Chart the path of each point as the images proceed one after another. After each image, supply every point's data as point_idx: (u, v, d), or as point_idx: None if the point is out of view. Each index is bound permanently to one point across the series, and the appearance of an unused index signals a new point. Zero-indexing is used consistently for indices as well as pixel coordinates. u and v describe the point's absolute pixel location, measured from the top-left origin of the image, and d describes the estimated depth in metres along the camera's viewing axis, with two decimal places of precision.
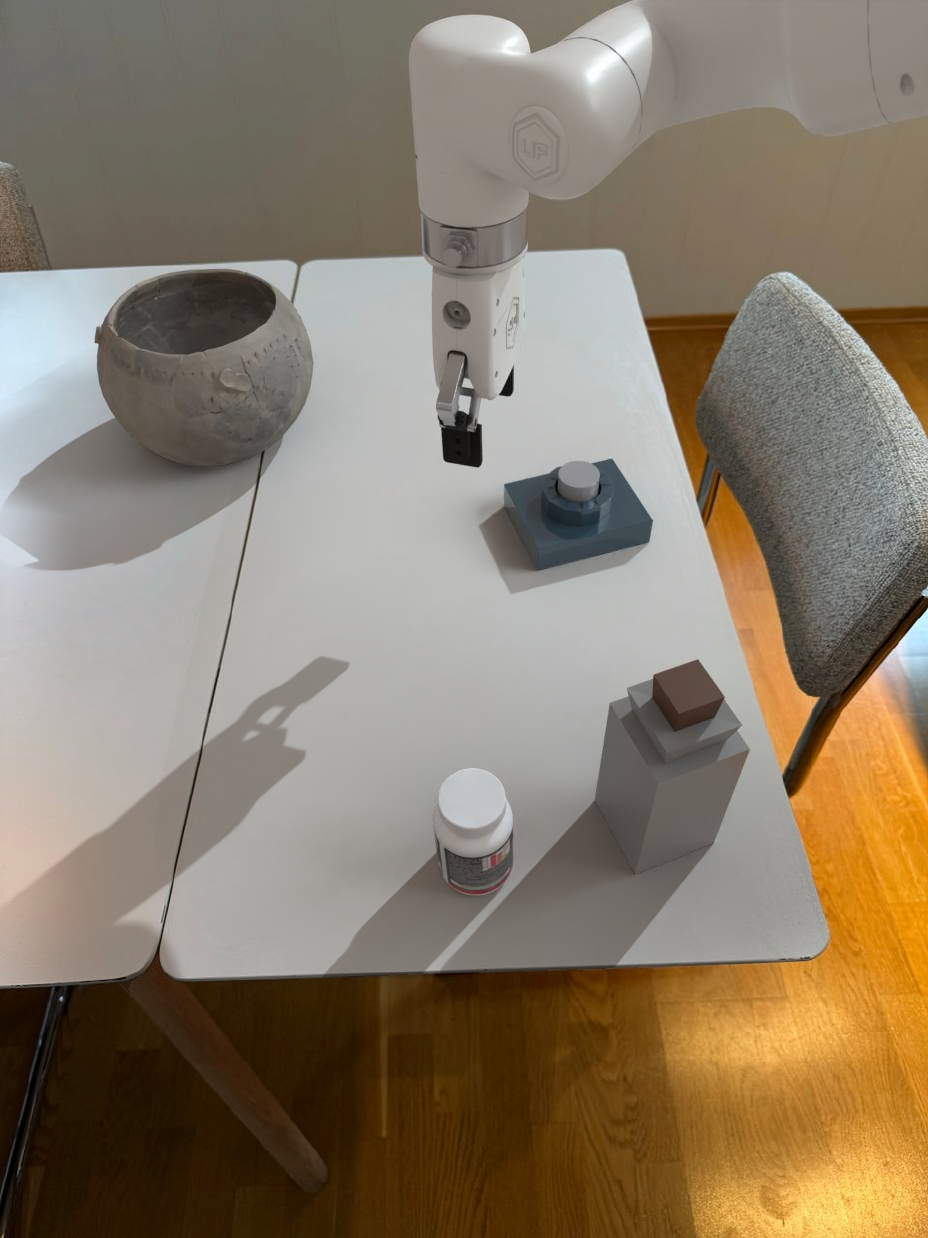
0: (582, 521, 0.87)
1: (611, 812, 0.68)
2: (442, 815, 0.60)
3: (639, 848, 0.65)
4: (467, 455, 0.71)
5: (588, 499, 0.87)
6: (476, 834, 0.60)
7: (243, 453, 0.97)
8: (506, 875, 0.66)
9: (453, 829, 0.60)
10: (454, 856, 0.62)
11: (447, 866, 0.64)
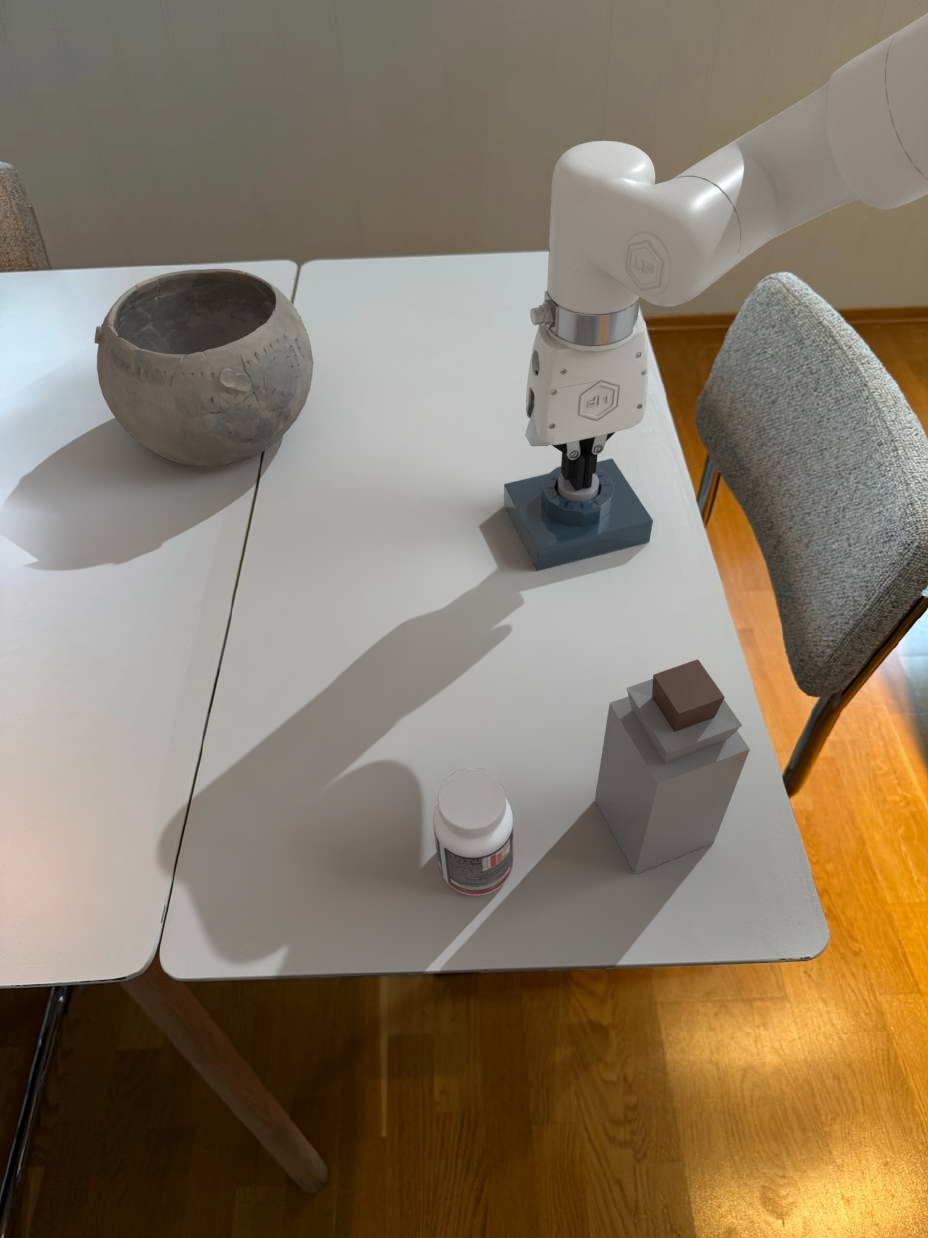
0: (582, 521, 0.87)
1: (611, 812, 0.68)
2: (442, 815, 0.60)
3: (639, 848, 0.65)
4: (566, 475, 0.86)
5: None
6: (476, 834, 0.60)
7: (243, 453, 0.97)
8: (506, 875, 0.66)
9: (453, 829, 0.60)
10: (454, 856, 0.62)
11: (447, 866, 0.64)
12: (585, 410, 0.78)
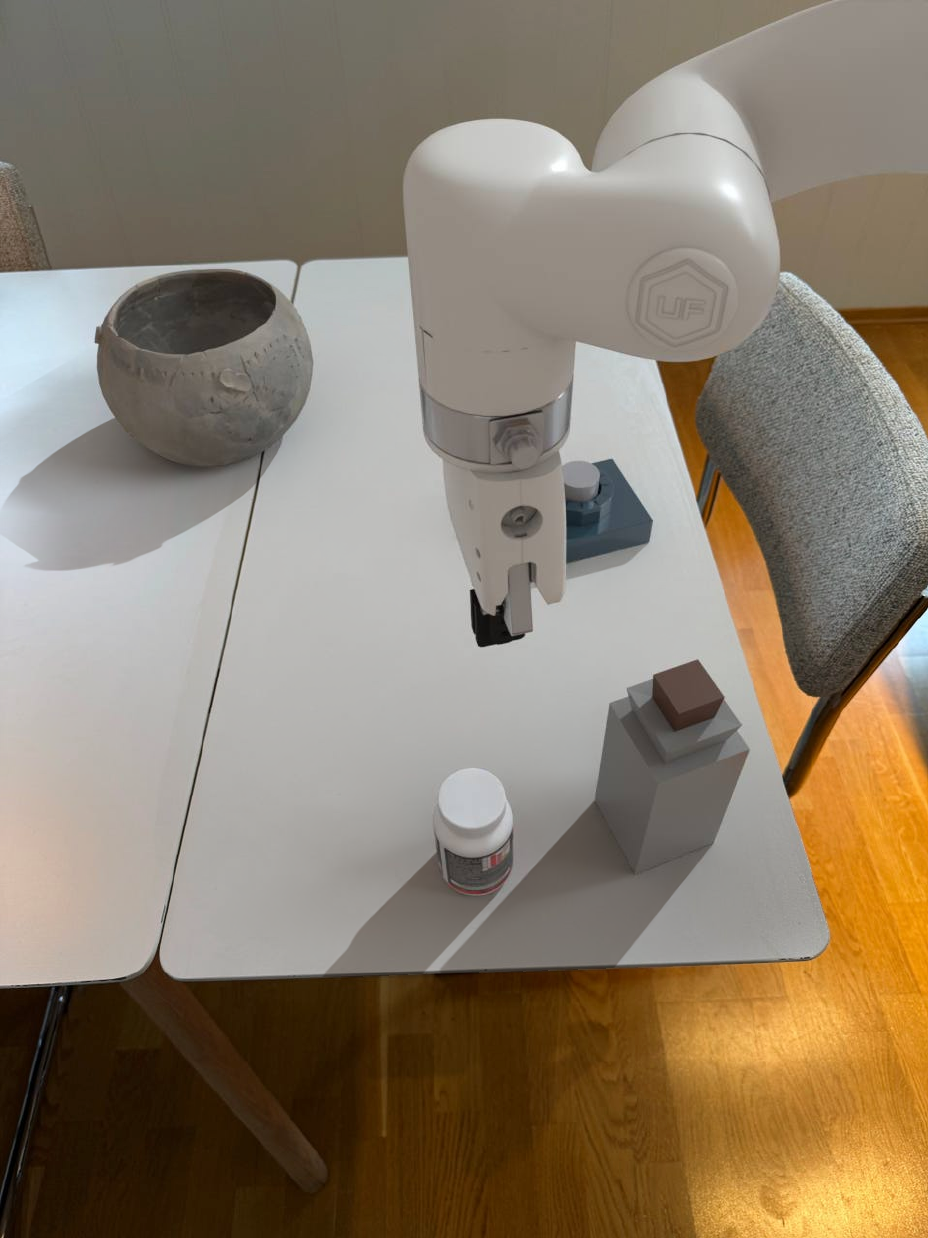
0: (582, 521, 0.87)
1: (611, 812, 0.68)
2: (442, 815, 0.60)
3: (639, 848, 0.65)
4: None
5: (588, 499, 0.87)
6: (476, 834, 0.60)
7: (243, 453, 0.97)
8: (506, 875, 0.66)
9: (453, 829, 0.60)
10: (454, 856, 0.62)
11: (447, 866, 0.64)
12: None
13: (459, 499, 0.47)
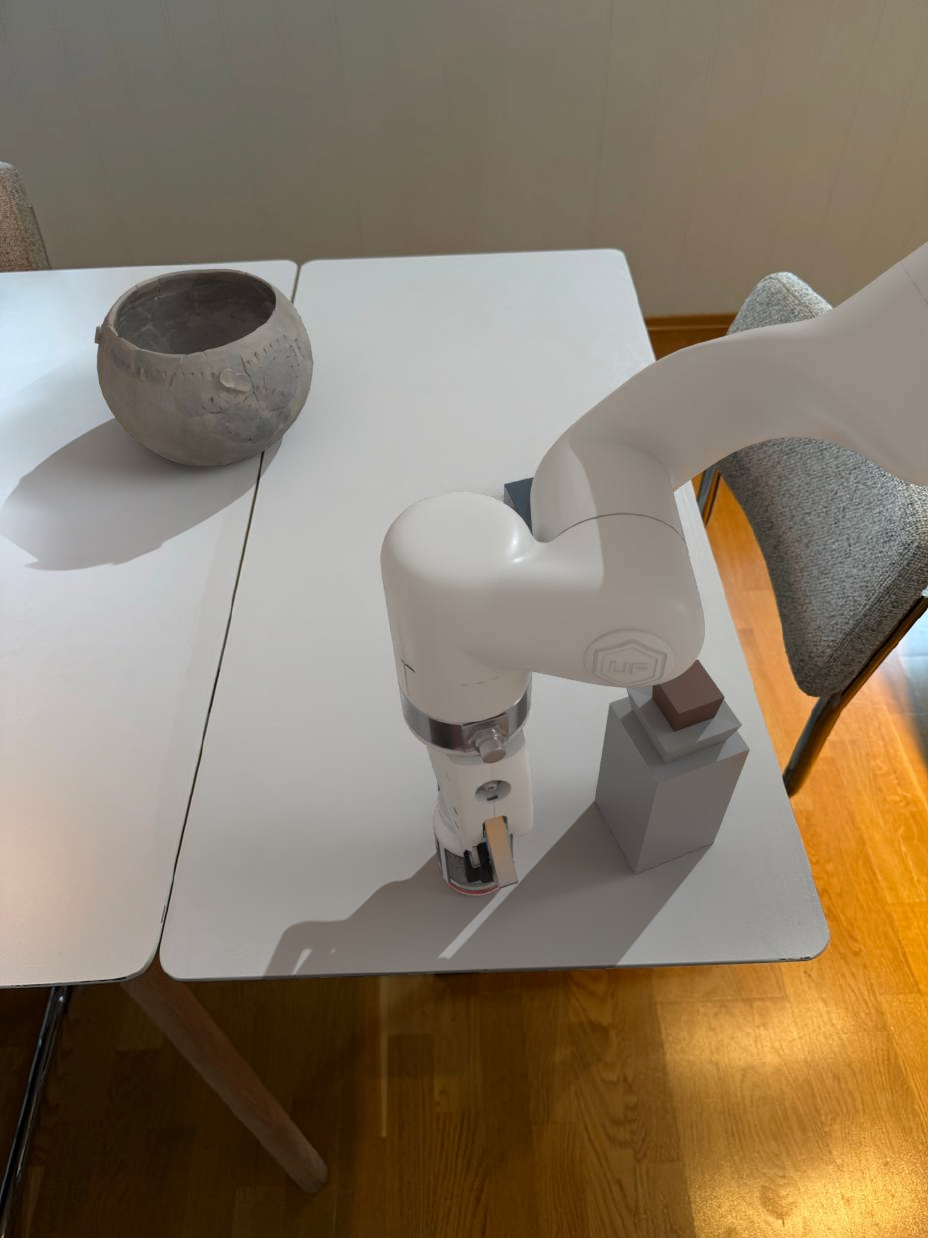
0: None
1: (611, 812, 0.68)
2: (442, 815, 0.60)
3: (639, 848, 0.65)
4: None
5: None
6: None
7: (243, 453, 0.97)
8: None
9: (453, 829, 0.60)
10: (453, 856, 0.62)
11: (447, 866, 0.64)
12: None
13: (436, 763, 0.53)
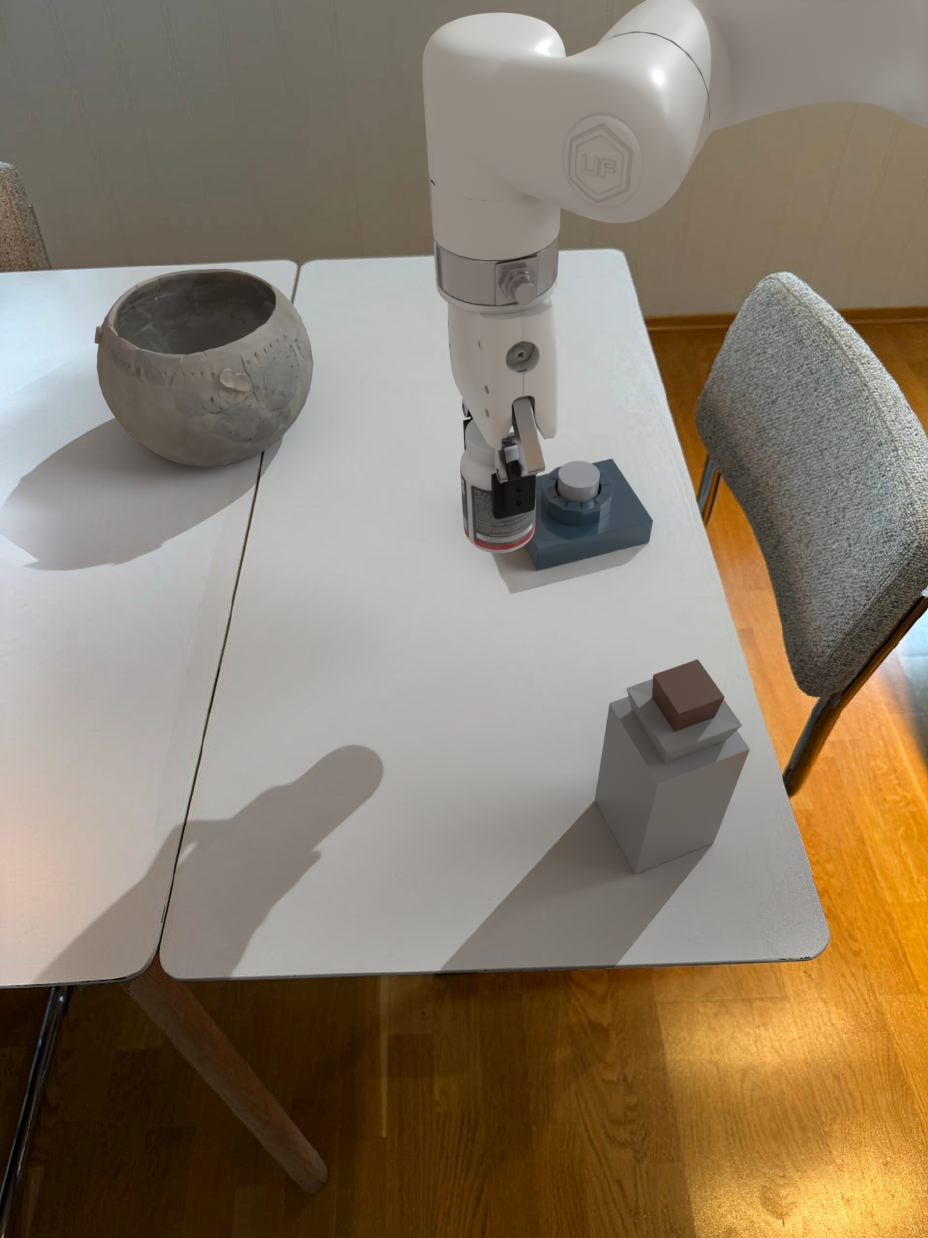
0: (582, 521, 0.87)
1: (611, 812, 0.68)
2: (470, 444, 0.64)
3: (639, 848, 0.65)
4: (527, 502, 0.65)
5: (588, 499, 0.87)
6: None
7: (243, 453, 0.97)
8: (529, 532, 0.70)
9: (480, 457, 0.64)
10: (480, 493, 0.66)
11: (473, 514, 0.68)
12: None
13: (468, 346, 0.57)
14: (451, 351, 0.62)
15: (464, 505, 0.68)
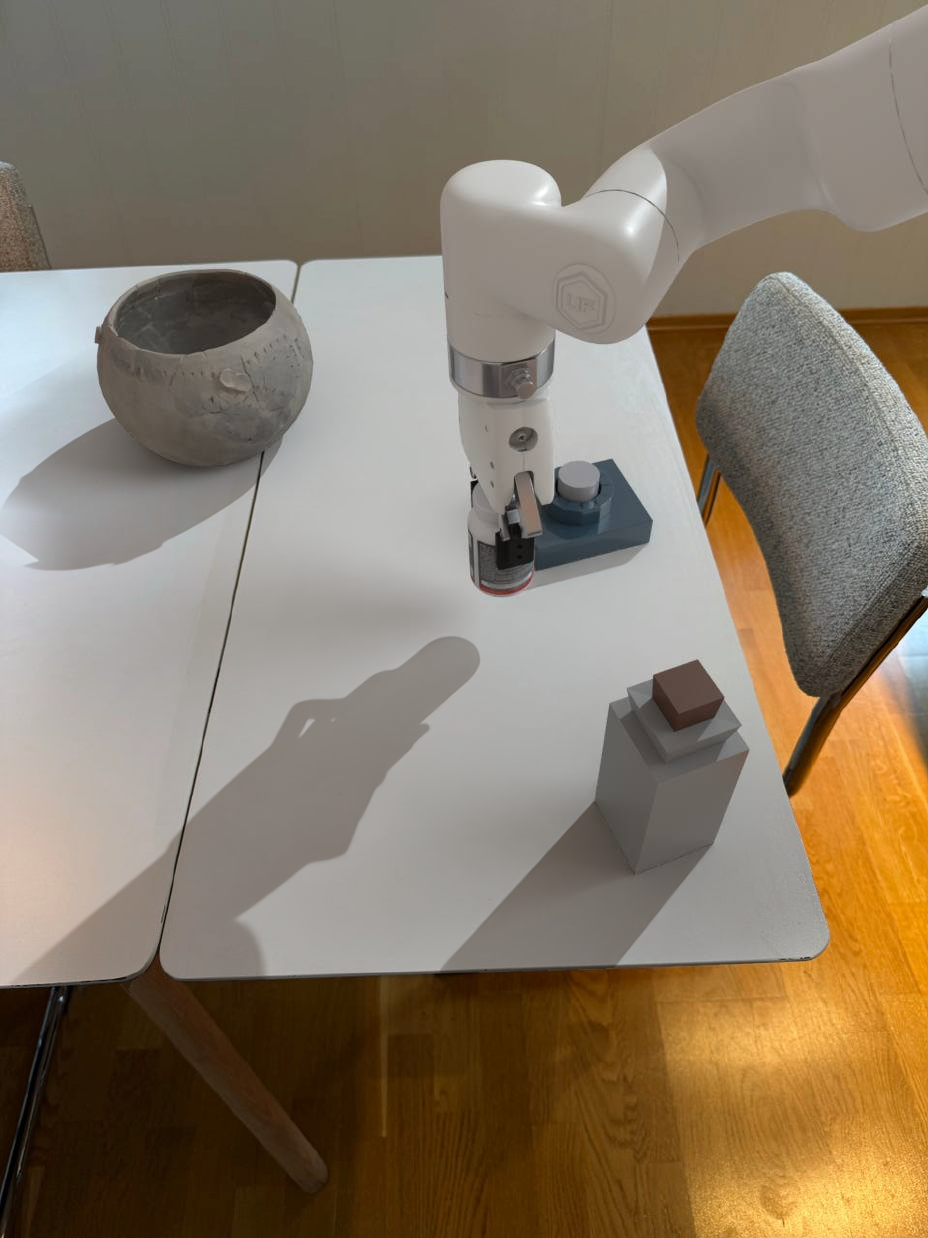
0: (582, 521, 0.87)
1: (611, 812, 0.68)
2: (476, 505, 0.73)
3: (639, 848, 0.65)
4: (527, 556, 0.73)
5: (588, 499, 0.87)
6: None
7: (243, 453, 0.97)
8: (528, 579, 0.78)
9: (486, 517, 0.72)
10: (485, 547, 0.74)
11: (479, 564, 0.77)
12: None
13: (476, 427, 0.65)
14: (461, 425, 0.71)
15: (471, 555, 0.77)
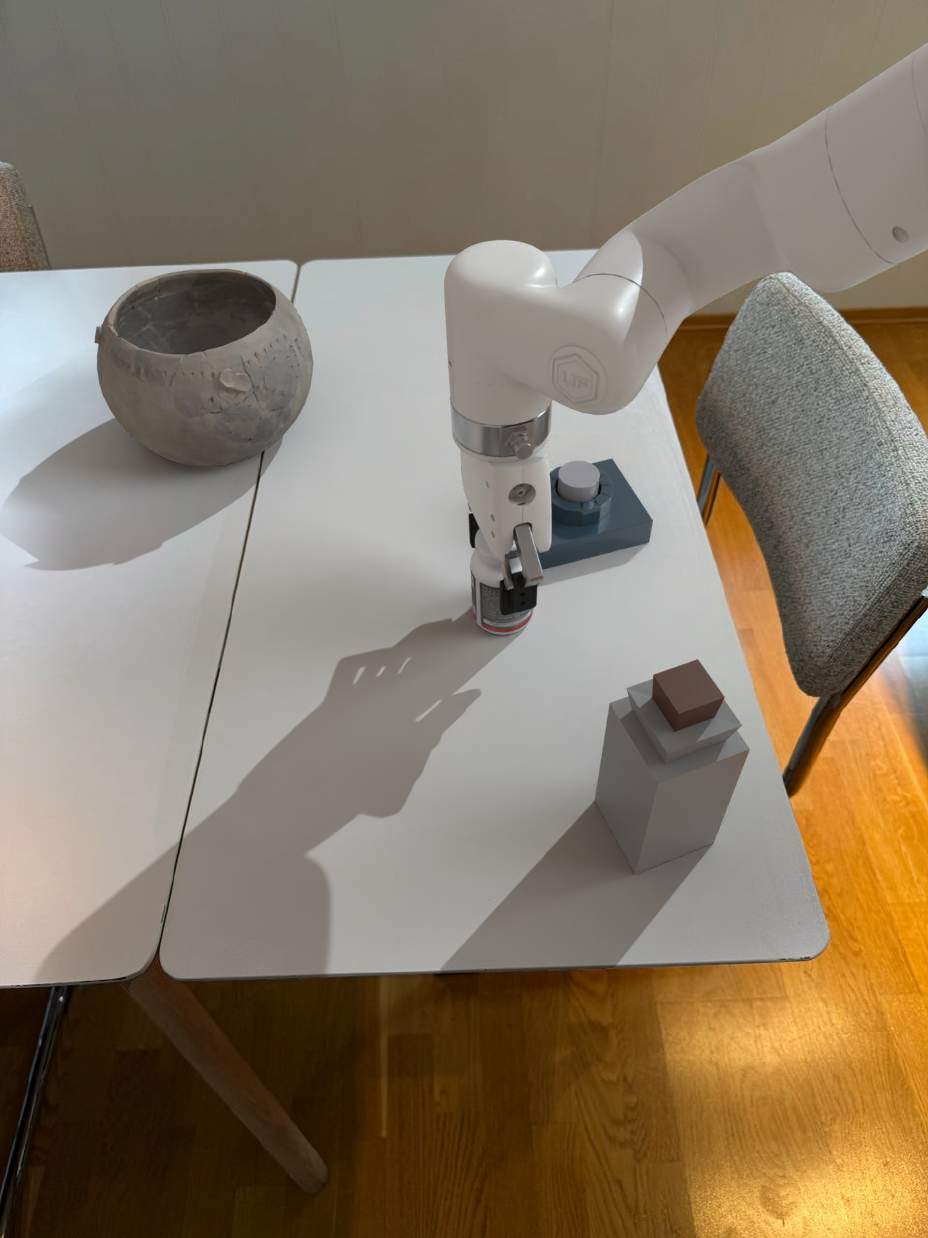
0: (582, 521, 0.87)
1: (611, 812, 0.68)
2: (479, 550, 0.76)
3: (639, 848, 0.65)
4: (530, 602, 0.76)
5: (588, 499, 0.87)
6: None
7: (243, 453, 0.97)
8: (528, 617, 0.82)
9: (487, 561, 0.76)
10: (487, 588, 0.78)
11: (481, 604, 0.80)
12: None
13: (478, 482, 0.69)
14: (463, 475, 0.75)
15: (473, 595, 0.81)
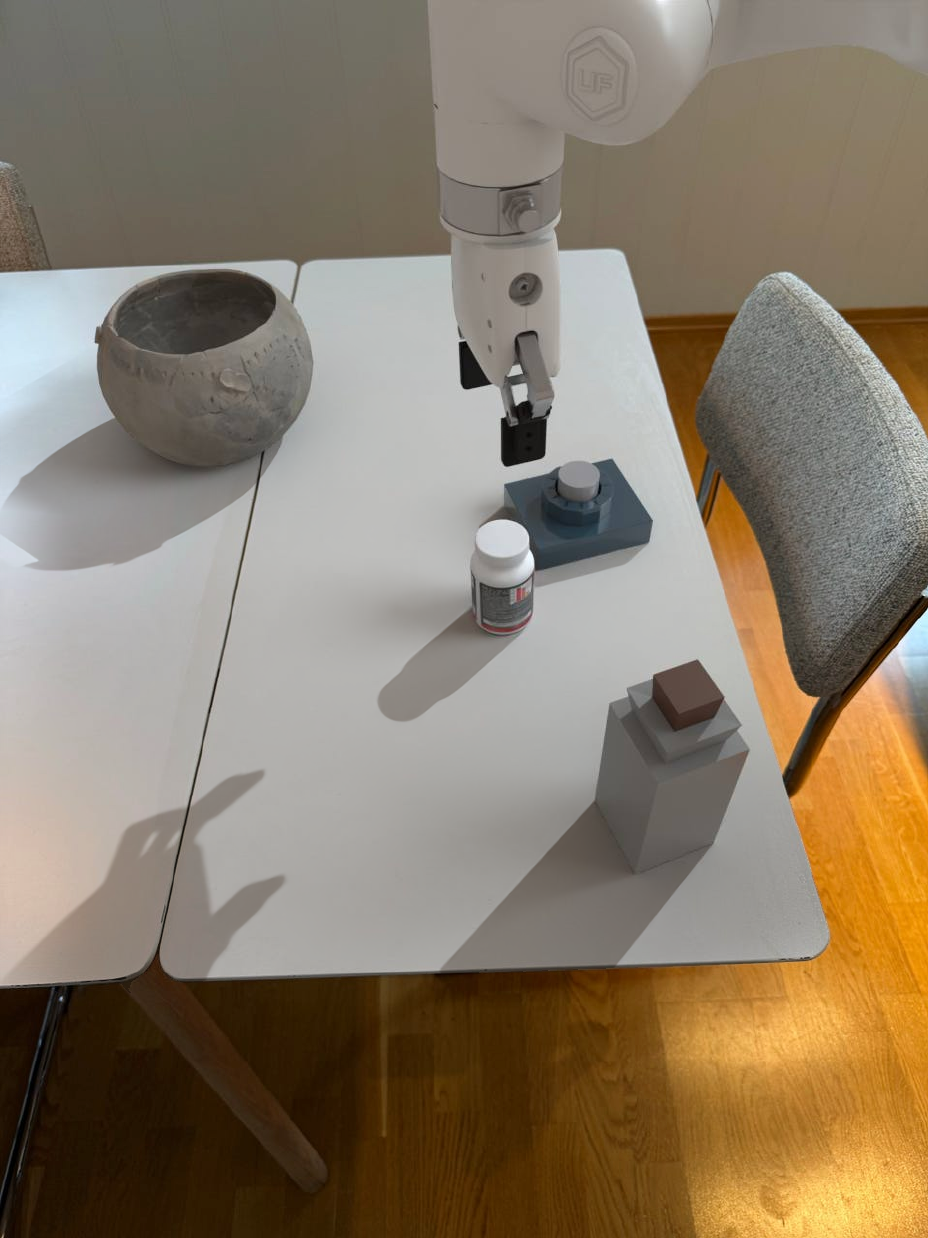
0: (582, 521, 0.87)
1: (611, 812, 0.68)
2: (479, 550, 0.76)
3: (639, 848, 0.65)
4: (537, 448, 0.63)
5: (588, 499, 0.87)
6: (506, 564, 0.76)
7: (243, 453, 0.97)
8: (528, 617, 0.82)
9: (487, 561, 0.76)
10: (487, 588, 0.78)
11: (481, 604, 0.80)
12: None
13: (471, 281, 0.56)
14: (454, 291, 0.62)
15: (473, 595, 0.81)
